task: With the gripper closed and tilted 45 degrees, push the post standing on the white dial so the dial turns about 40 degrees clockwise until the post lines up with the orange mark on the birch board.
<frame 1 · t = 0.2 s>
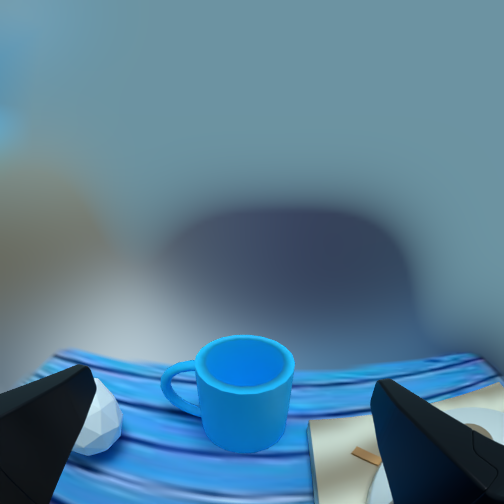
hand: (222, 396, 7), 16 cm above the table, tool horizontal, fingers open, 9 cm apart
mug: (225, 421, 24), on the table
ball: (95, 439, 19), on the table
dial board: (462, 502, 9), on the table
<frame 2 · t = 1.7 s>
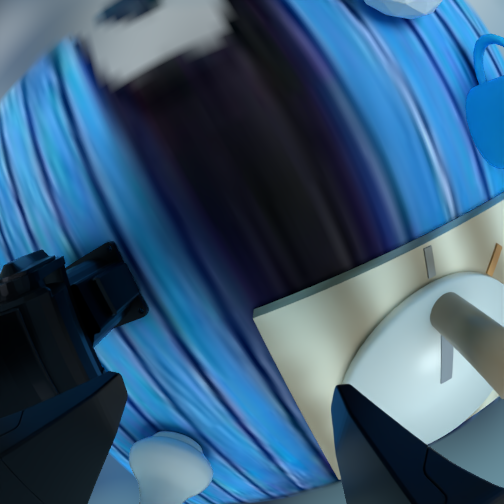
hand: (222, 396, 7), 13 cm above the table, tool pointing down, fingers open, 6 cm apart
mug: (485, 106, 16), on the table
dial: (464, 408, 14), point 7 cm above the table, hinge at 0.0°
ball: (380, 1, 14), on the table
dial board: (430, 364, 21), on the table
flower vase: (183, 447, 25), on the table
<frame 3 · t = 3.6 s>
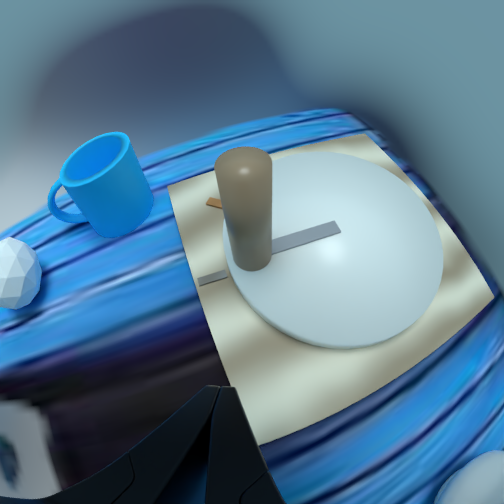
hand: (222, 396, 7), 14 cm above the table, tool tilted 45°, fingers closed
mug: (108, 215, 30), on the table
dial: (352, 195, 19), point 7 cm above the table, hinge at 0.0°
ball: (31, 289, 25), on the table
dial board: (335, 246, 25), on the table
flower vase: (460, 486, 12), on the table
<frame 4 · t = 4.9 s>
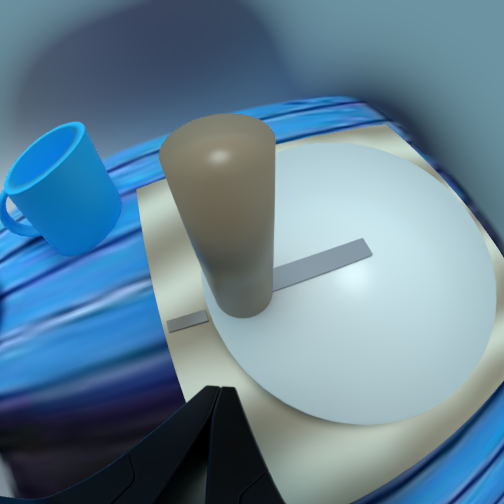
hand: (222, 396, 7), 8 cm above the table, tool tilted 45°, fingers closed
mug: (69, 227, 22), on the table
dial: (394, 202, 12), point 7 cm above the table, hinge at 0.0°
dial board: (358, 271, 18), on the table
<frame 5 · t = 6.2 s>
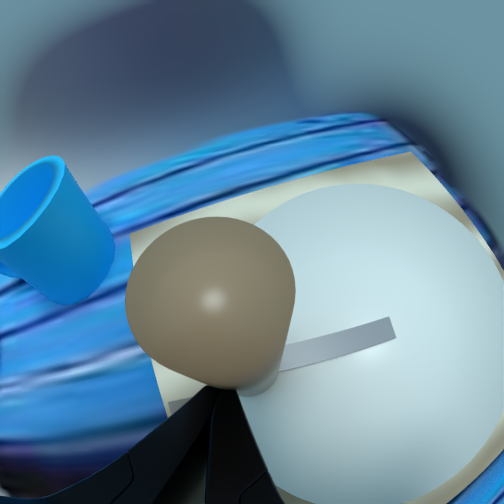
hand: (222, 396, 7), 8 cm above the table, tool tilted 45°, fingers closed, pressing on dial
mug: (60, 268, 20), on the table
dial: (433, 296, 9), point 7 cm above the table, hinge at 6.9°, touching gripper
dial board: (377, 340, 15), on the table
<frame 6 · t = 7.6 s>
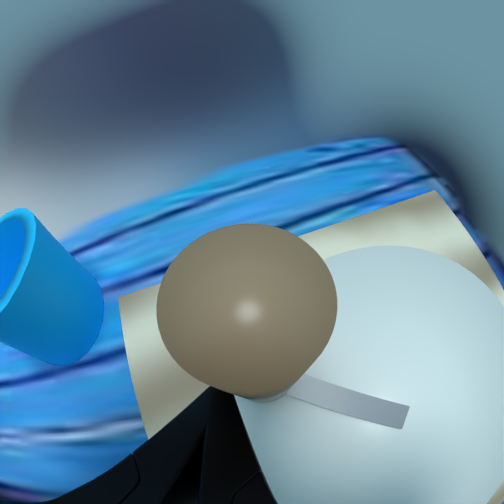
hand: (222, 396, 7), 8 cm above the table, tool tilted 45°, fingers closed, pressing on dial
mug: (49, 321, 18), on the table
dial: (454, 417, 7), point 7 cm above the table, hinge at 41.7°, touching gripper
dial board: (387, 419, 13), on the table
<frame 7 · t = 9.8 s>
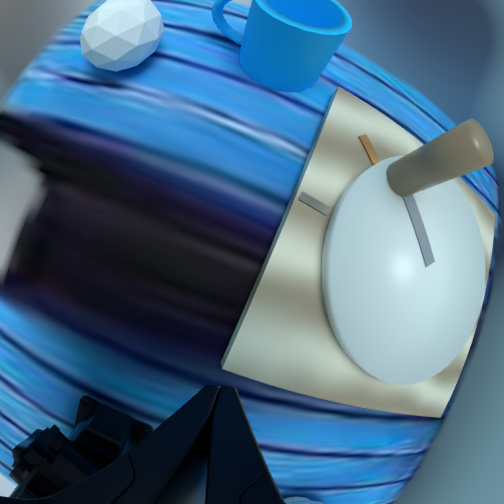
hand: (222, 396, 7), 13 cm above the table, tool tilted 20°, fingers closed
mug: (261, 56, 23), on the table
dial: (463, 268, 16), point 7 cm above the table, hinge at 41.8°
ball: (128, 58, 20), on the table
dial board: (407, 270, 23), on the table
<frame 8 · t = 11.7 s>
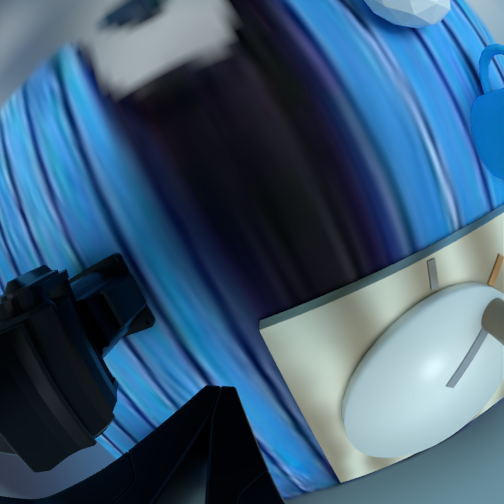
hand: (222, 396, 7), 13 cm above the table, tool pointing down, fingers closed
mug: (490, 116, 16), on the table
dial: (463, 415, 14), point 7 cm above the table, hinge at 41.8°
ball: (387, 8, 14), on the table
dial board: (431, 371, 21), on the table
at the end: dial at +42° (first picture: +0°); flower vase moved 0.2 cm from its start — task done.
